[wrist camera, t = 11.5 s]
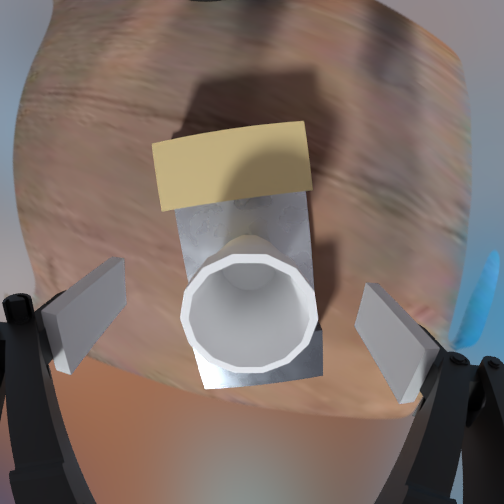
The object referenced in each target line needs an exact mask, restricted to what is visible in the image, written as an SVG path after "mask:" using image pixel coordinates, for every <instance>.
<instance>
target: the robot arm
mask: <svg viewBox="0 0 504 504" xmlns="http://www.w3.org/2000/svg"><path fill="white" fill-rule="evenodd" d="M191 1H220V0H191ZM2 304H3V308H4V312H5V316H6V320H7V323H6V322H0V420H1V414H2V409H3V404H4V399H5V395H6V406H7V416H8V426H9V434H10V441H11V447H12V453H13V458H14V463H15V470H13V471H10V473H9V479H10V484H11V489H12V492H13V496H14V500H15V503H16V504H96V502H95V500H94V498H93V496H92V494H91V492H90V490H89V487H88V485H87V483H86V481H85V479H84V476H83V474H82V472H81V469H80V467H79V464H78V462H77V459H76V457H75V454H74V451H73V449H72V446H71V443H70V441H69V438H68V434H67V431H66V428H65V425H64V422H63V419H62V415H61V412H60V409H59V405H58V401H57V397H56V393H55V389H54V385H53V380H52V376H51V371H50V368H49V365H48V364H49V363H50V361H51V360H52V359H53V360H54V364H55V367H56V370H58V371H61V372H64V373H67V374H70V375H71V374H72V373H73V372H74V370H75V369H76V368H77V366H78V365H79V364H80V362H81V361H82V360H83V358H84V357H85V356H86V354H87V353H88V352H89V351H90V349H91V348H92V347H93V345H94V344H95V343H96V341H97V340H98V339H99V338H100V336H101V335H102V334H103V333H104V331H105V330H106V329H107V328H108V326H109V325H110V324H111V323H112V321H113V320H114V319H115V318H116V316H117V315H118V314H119V313H120V312H121V310H122V309H123V308H124V307H125V305H126V304H127V303H126V288H125V268H124V258H118V257H111V258H109V259H108V260H107V261H105V262H104V263H102V264H101V265H100V266H98V267H97V268H96V269H94V270H93V271H92V272H90V273H89V274H88V275H86V276H85V277H84V278H82V279H81V280H80V281H78V282H77V283H76V284H74V285H73V286H72V287H70V288H69V289H68V290H65V291H63V292H60V293H58V294H56V295H55V296H54V297H53V298H51V300H49V301H47V302H46V304H44V305H42V306H41V307H40V308H39V309H37V310H36V311H35V312H34V308H33V304H32V299H31V296H30V295H28V294H24V293H18V294H13V295H10V296H8V297H6V298H5V299H4V300H3V302H2ZM354 327H355V328H356V330H357V331H358V333H359V335H360V336H361V338H362V340H363V341H364V343H365V345H366V347H367V348H368V350H369V352H370V353H371V355H372V357H373V358H374V360H375V362H376V364H377V365H378V367H379V369H380V371H381V372H382V374H383V376H384V378H385V379H386V381H387V383H388V385H389V386H390V388H391V390H392V392H393V394H394V395H395V397H396V399H397V401H398V403H399V404H402V403H409V402H414V400H415V399H416V397H417V395H418V393H419V391H420V392H421V393H422V395H423V396H424V397H423V398H422V400H421V402H420V404H419V405H418V407H417V409H416V410H415V412H414V414H413V416H415V418H414V421H413V423H412V426H411V428H410V431H409V433H408V436H407V438H406V441H405V443H404V445H403V448H402V450H401V452H400V455H399V457H398V459H397V461H396V463H395V465H394V467H393V469H392V471H391V474H390V475H389V478H388V479H387V481H386V483H385V485H384V487H383V489H382V491H381V492H380V494H379V496H378V498H377V499H376V501H375V503H374V504H457V502H456V500H455V499H450V493H451V490H452V486H453V482H454V479H455V475H456V471H457V466H458V462H459V457H460V453H461V449H462V465H463V504H504V364H503V363H502V362H501V361H500V359H498V358H496V357H491V356H485V357H484V358H483V359H482V361H481V363H480V365H479V366H478V365H477V366H476V365H470V361H469V360H468V359H467V358H466V357H465V356H464V355H462V354H460V353H457V352H447V351H446V350H445V349H444V348H443V347H442V346H441V345H440V344H439V342H438V341H437V340H435V338H434V337H433V336H432V335H431V334H430V333H429V332H428V331H427V330H426V329H425V328H424V327H422V326H421V325H419V324H417V323H416V322H415V321H414V320H413V319H412V318H411V316H410V315H409V314H408V313H407V312H406V311H405V310H404V309H403V308H402V307H401V306H400V305H399V304H398V303H397V302H396V301H395V300H394V299H393V298H392V297H391V296H390V295H389V294H388V293H387V292H386V291H385V290H384V289H383V288H382V287H381V286H380V285H379V284H378V283H367V282H366V284H365V288H364V292H363V296H362V300H361V304H360V308H359V311H358V315H357V318H356V322H355V325H354Z"/></svg>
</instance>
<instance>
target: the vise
mask: <svg viewBox="0 0 504 504" xmlns="http://www.w3.org/2000/svg"><path fill="white" fill-rule="evenodd" d="M175 215H176V221H177V226H178V232H179V237H180V242H181V248H182V253H183V258H184V263H185V268H186V273H187V277H188V282H189V281H190V279H191V278H192V277H193V275H194V274H195V273H196V272H197V270H198V269H199V268H200V267H201V265H202V264H203V263H204V261H205V260H206V259H207V258H208V257H210V256H212V255H214V254H216V253H217V252H218V251H219V250H220V249H222V248H223V247H224V246H225V245H226V244H227V243H228V242H229V241H231V240H233V239H235V238H237V237H239V236H241V235H257V236H259V237H261V238H263V239H265V240H267V241H269V242H270V243H271V244H272V245H273V246H274V247H276V248H277V249H278V250H279V251H280V252H281V253H282V254H284V255H286V256H288V257H290V258H292V260H293V261H294V262H295V263H296V265H297V266H298V267H299V269H300V270H301V271H302V273H303V274H304V275H305V277H306V278H307V279H308V281H309V283H310V285H311V287H312V288H313V290H314V279H313V265H312V252H311V240H310V229H309V218H308V208H307V199H306V191H301V192H293V193H284V194H276V195H267V196H260V197H252V198H245V199H237V200H230V201H223V202H217V203H210V204H204V205H197V206H191V207H185V208H179V209H175ZM193 350H194V353H195V357H196V360H197V364H198V367H199V371H200V374H201V377H202V381H203V384H204V387H205V389H216V388H230V387H242V386H252V385H262V384H270V383H278V382H285V381H292V380H299V379H305V378H311V377H317V376H323V340H322V328H321V326H320V324H319V322H318V321H317V324H316V327H315V329H314V332H313V335H312V337H311V340H310V342H309V345H308V346H307V347H306V348H304V349H303V350H302V351H301V352H300V353H299V354H298V355H297V356H296V357H295V358H294V359H293V360H292V361H291V362H290V363H288V364H285V365H283V366H280V367H278V368H275V369H272V370H270V371H267V372H264V373H234V372H231V371H229V370H226V369H223V368H221V367H218V366H216V365H213V364H211V363H209V362H207V361H206V360H205V359H204V358H203V357H202V356H201V355H200V354H199V353H198V352H197V351H196V350H195V349H194V348H193Z"/></svg>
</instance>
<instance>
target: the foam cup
mask: <svg viewBox="0 0 504 504" xmlns="http://www.w3.org/2000/svg"><path fill="white" fill-rule="evenodd" d="M180 320H181V323H182V325H183V328H184V331H185V334H186V336H187V339H188V342H189V344H190V345H191V346H192V347H193V348H194V349H195V350H196V351H197V352H198V353H199V354H200V355H201V356H202V357H203V358H204V359H205V360H206V361H207V362H209V363H211V364H213V365H216V366H218V367H221V368H223V369H226V370H229V371H231V372H234V373H264V372H267V371H270V370H272V369H275V368H278V367H280V366H283V365H285V364H288V363H290V362H291V361H292V360H293V359H294V358H295V357H296V356H297V355H298V354H299V353H300V352H301V351H302V350H303V349H304V348H306V347H307V346H308V345H309V342H310V340H311V337H312V335H313V332H314V329H315V327H316V324H317V321H318V314H317V306H316V299H315V293H314V290H313V288H312V287H311V285H310V283H309V281H308V279H307V278H306V277H305V275H304V274H303V273H302V271H301V270H300V269H299V267H298V266H297V265H296V263H295V262H294V261H293V260H292V258H290V257H288V256H286V255H284V254H282V253H281V252H280V251H279V250H278V249H277V248H276V247H274V246H273V245H272V244H271V243H270V242H269V241H267V240H265V239H263V238H261V237H259V236H257V235H241V236H239V237H237V238H235V239H233V240H231V241H229V242H228V243H227V244H226V245H225V246H224V247H223V248H222V249H220V250H219V251H218V252H217V253H216V254H214V255H212V256H210V257H208V258H207V259H206V260H205V261H204V263H203V264H202V265H201V267H200V268H199V269H198V270H197V272H196V273H195V274H194V275H193V277H192V278H191V279H190V281H189V283H188V285H187V287H186V289H185V291H184V296H183V303H182V309H181V316H180Z"/></svg>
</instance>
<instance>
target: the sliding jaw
mask: <svg viewBox="0 0 504 504" xmlns="http://www.w3.org/2000/svg"><path fill="white" fill-rule="evenodd" d="M152 150H153V157H154V165H155V172H156V178H157V185H158V191H159V197H160V203H161V209H162V211H167V210H173V209H179V208H185V207H191V206H197V205H204V204H210V203H217V202H223V201H230V200H237V199H245V198H252V197H260V196H267V195H276V194H284V193H293V192H301V191H311V190H313V187H312V178H311V169H310V161H309V153H308V146H307V139H306V132H305V125H304V121H296V122H284V123H274V124H264V125H256V126H248V127H240V128H233V129H226V130H220V131H214V132H208V133H202V134H196V135H191V136H186V137H181V138H176V139H171V140H167V141H162V142H158V143H153V144H152Z"/></svg>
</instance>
